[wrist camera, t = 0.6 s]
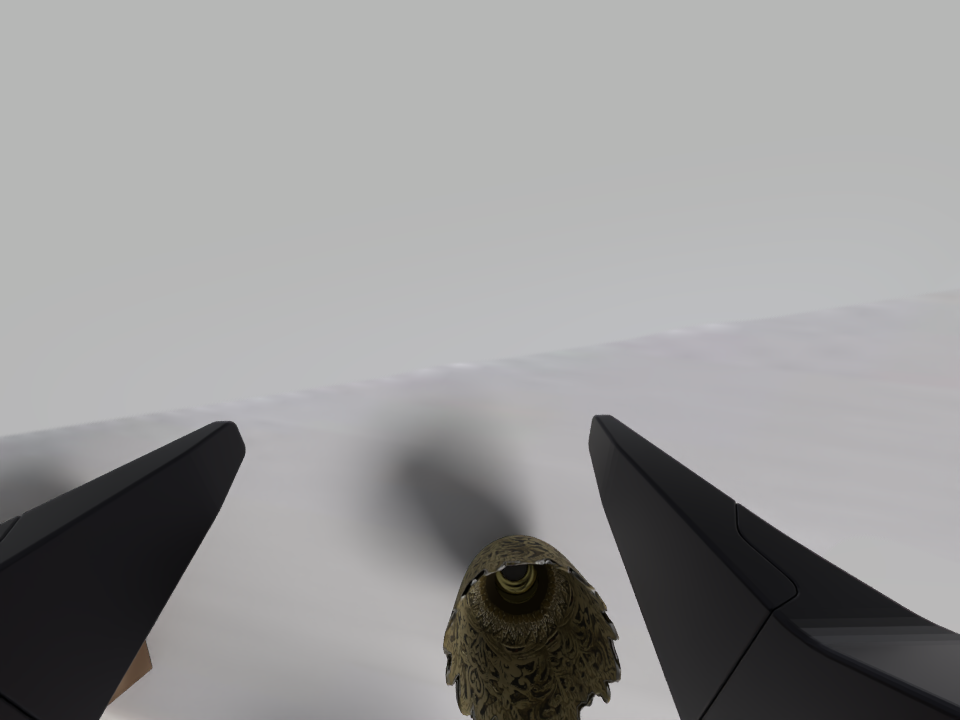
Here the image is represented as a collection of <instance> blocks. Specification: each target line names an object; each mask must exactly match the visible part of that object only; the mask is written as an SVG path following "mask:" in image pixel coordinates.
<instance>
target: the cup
mask: <svg viewBox="0 0 960 720" xmlns="http://www.w3.org/2000/svg"><path fill="white" fill-rule="evenodd" d="M521 564H527V571H526V574H525V576H524V577H523V578H522V579H520V580H518V581H511V580H508V579H507V578H505V577H504V575H503V573H502V571H501V570H502V569H504V568H505V567H506V566H515V565H521ZM605 611H607V607H606V605H605V603H604V602H603V600H602V599H601V598H600V596H599V595H598V593H597V592H596V591H595V589H594V588H593V587H592V586H591V585H590V584H589V583H588V582H587V581H586V580H585V578H584V577H583V576H582V575H581V574H580V573H579V571H578V570H577V569H576V568H575V567H574V566H573V565H572V564H571V563H570V562H569V560H568V559H567V558H566V557H565V556H564V555H563V554H561V553H560V552H559V551H558V550H557V549H555V548H554V547H553V546H551V545H550V544H548V543H546V542H544V541H542V540H540V539H537V538H534V537H530V536H524V535H514V536H507V537H503V538H501V539H498V540H496V541H494V542H492V543H491V544H489V545H487V546H486V547H485V548H484V549H483V550H482V551H481V552H480V553H479V554H478V555H477V556H476V557H475V559H474V560H473V561H472V563H471V564H470V566H469V568H468V570H467V572H466V574H465V576H464V578H463V581H462V583H461V586H460V589H459V592H458V595H457V598H456V601H455V604H454V607H453V611H452V614H451V617H450V620H449V622H448V626H447V629H446V632H445V636H444V643H443V650H444V653H445V654H446V657H447V659H448V660H447V667H446V683H447V685H448V686H449V685H451V686H453V684H454V683H455V682H456V699H457V703H458V706H459V709H460V711H461V713H462V714H463V715H466V716H468V715H471V718H473V720H580V711H581V710H582V709H583V708H584V707H585V706H591V704H592V701H593V698H594V697H595V696H596V695H597V696H599V697H600V696H601V697H602V699H603V701H604V702H605V703H608V702H609V701H610V696H611V693H610V688H609V684H608V683H613V682H619V681H620V679H621V667H620V663H619V659H618V656H617V653H616V650H615V647H614V643H613V640H619V637H618V634H617V631H616V629H615V627H614V624H613V623H612V621H611V620H610V619H609V617H608V616H607V614H606V613H605Z"/></svg>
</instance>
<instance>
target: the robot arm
mask: <svg viewBox="0 0 960 720" xmlns="http://www.w3.org/2000/svg"><path fill="white" fill-rule="evenodd" d="M245 450H246V449H245V444H244V442H243V439H242V437H241V435H240V432H239V430H238V427H237V425H236V424H235V423H234V422H232V421H216V422H213V423H211V424H209V425H207V426H204V427H202V428H200V429H198V430H196V431H194V432H192V433H190V434H188V435H186V436H184V437H182V438H179V439H177V440H175V441H173V442H171V443H169V444H167V445H165V446H163V447H161V448H159V449H157V450H154V451H152V452H150V453H148V454H146V455H144V456H142V457H140V458H138V459H136V460H134V461H132V462H130V463H127V464H125V465H123V466H121V467H119V468H117V469H115V470H113V471H111V472H109V473H107V474H105V475H102V476H100V477H98V478H96V479H94V480H92V481H90V482H88V483H86V484H84V485H82V486H80V487H77V488H75V489H73V490H71V491H69V492H67V493H65V494H63V495H61V496H59V497H57V498H55V499H52V500H50V501H48V502H46V503H44V504H42V505H40V506H38V507H36V508H34V509H32V510H30V511H27V512H25V513H24V514H23V515H22V516H17V517H15V518H13V519H11V520H9V521H6V522H4V523H2V524H0V720H99V719H100V717H101V716H102V714H103V712H104V710H105V709H106V707H107V705H108V704H109V702H110V700H111V698H112V697H113V695H114V693H115V691H116V690H117V688H118V686H119V684H120V683H121V681H122V679H123V678H124V676H125V674H126V672H127V671H128V669H129V667H130V665H131V664H132V662H133V660H134V659H135V657H136V655H137V653H138V652H139V650H140V648H141V646H142V645H143V643H144V641H145V639H146V638H147V636H148V634H149V633H150V631H151V629H152V627H153V626H154V624H155V622H156V620H157V619H158V617H159V615H160V614H161V612H162V610H163V608H164V607H165V605H166V603H167V601H168V600H169V598H170V596H171V594H172V593H173V591H174V589H175V588H176V586H177V584H178V582H179V581H180V579H181V577H182V575H183V574H184V572H185V570H186V569H187V567H188V565H189V563H190V562H191V560H192V558H193V556H194V555H195V553H196V551H197V549H198V548H199V546H200V544H201V543H202V541H203V539H204V537H205V536H206V534H207V532H208V530H209V529H210V527H211V525H212V524H213V522H214V520H215V518H216V516H217V514H218V513H219V511H220V509H221V507H222V505H223V502H224V500H225V498H226V496H227V494H228V492H229V489H230V487H231V485H232V483H233V480H234V478H235V476H236V474H237V472H238V469H239V467H240V465H241V463H242V461H243V458H244V456H245ZM589 451H590V456H591V460H592V464H593V468H594V472H595V477H596V481H597V485H598V489H599V493H600V497H601V501H602V505H603V508H604V511H605V514H606V517H607V519H608V522H609V525H610V528H611V530H612V533H613V536H614V539H615V541H616V544H617V547H618V550H619V552H620V555H621V558H622V560H623V563H624V566H625V569H626V571H627V574H628V577H629V580H630V582H631V585H632V588H633V591H634V593H635V596H636V599H637V602H638V604H639V607H640V610H641V613H642V615H643V618H644V621H645V623H646V626H647V629H648V632H649V634H650V637H651V640H652V643H653V645H654V648H655V651H656V654H657V656H658V659H659V662H660V665H661V667H662V670H663V673H664V676H665V678H666V681H667V684H668V686H669V689H670V692H671V695H672V697H673V700H674V703H675V706H676V708H677V711H678V714H679V717H680V719H681V720H960V634H958V633H955V632H953V631H951V630H948V629H946V628H944V627H941V626H939V625H937V624H935V623H933V622H931V621H929V620H927V619H925V618H923V617H921V616H919V615H917V614H915V613H914V612H912V611H910V610H909V609H907V608H905V607H903V606H902V605H900V604H898V603H897V602H895V601H893V600H892V599H890V598H888V597H887V596H885V595H883V594H882V593H880V592H878V591H877V590H875V589H873V588H872V587H870V586H868V585H867V584H865V583H864V582H862V581H860V580H858V579H857V578H855V577H854V576H852V575H850V574H848V573H847V572H846V571H844V570H842V569H840V568H839V567H837V566H836V565H834V564H832V563H831V562H829V561H827V560H826V559H824V558H822V557H821V556H819V555H817V554H816V553H814V552H813V551H811V550H809V549H808V548H806V547H805V546H803V545H801V544H800V543H798V542H797V541H795V540H793V539H792V538H790V537H789V536H787V535H785V534H784V533H782V532H781V531H779V530H778V529H776V528H775V527H773V526H772V525H770V524H769V523H767V522H766V521H764V520H763V519H761V518H760V517H758V516H757V515H755V514H754V513H752V512H751V511H749V510H748V509H747V508H745V507H744V506H742V505H741V504H739V503H737V504H736V502H735V500H733V499H732V498H730V497H729V496H727V495H726V494H725V493H723V492H722V491H720V490H719V489H717V488H716V487H714V486H713V485H712V484H710V483H709V482H707V481H706V480H704V479H703V478H701V477H700V476H698V475H697V474H696V473H694V472H693V471H691V470H690V469H688V468H687V467H685V466H684V465H682V464H681V463H680V462H678V461H677V460H675V459H674V458H672V457H671V456H669V455H668V454H667V453H665V452H664V451H662V450H661V449H659V448H658V447H656V446H655V445H653V444H652V443H651V442H649V441H648V440H646V439H645V438H643V437H642V436H640V435H639V434H637V433H636V432H635V431H633V430H632V429H630V428H629V427H627V426H626V425H624V424H623V423H622V422H620V421H619V420H617V419H616V418H614V417H613V416H611V415H595V416H594V417H593V419H592V423H591V429H590V435H589Z"/></svg>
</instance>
